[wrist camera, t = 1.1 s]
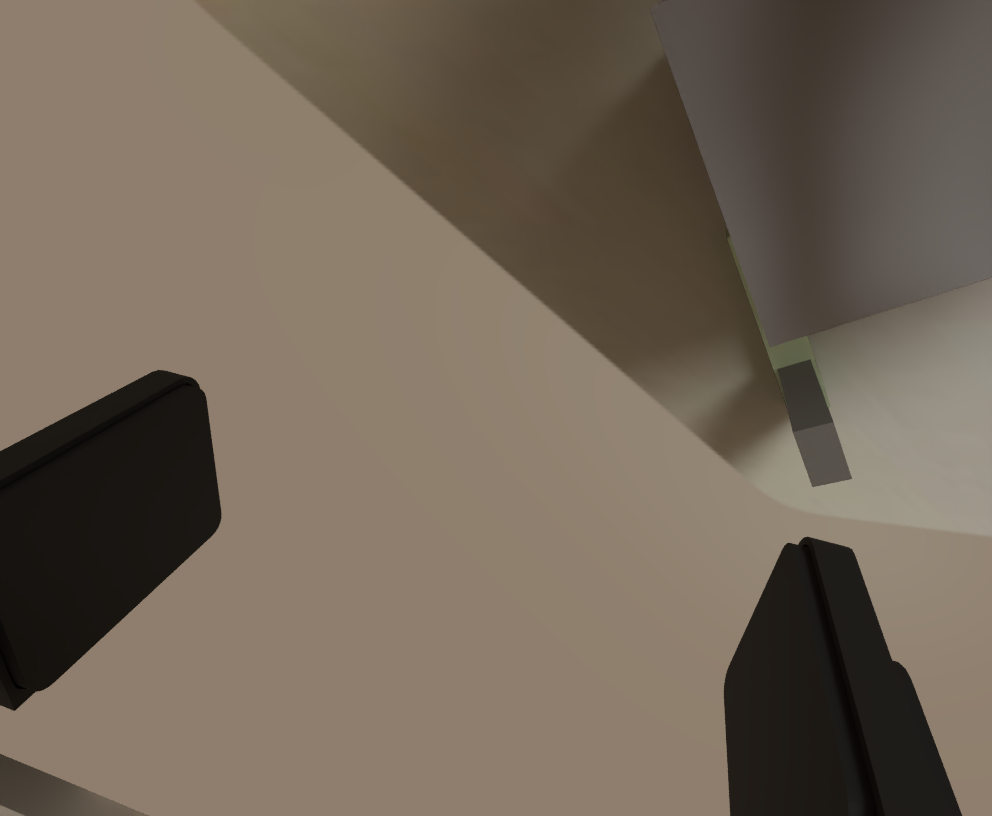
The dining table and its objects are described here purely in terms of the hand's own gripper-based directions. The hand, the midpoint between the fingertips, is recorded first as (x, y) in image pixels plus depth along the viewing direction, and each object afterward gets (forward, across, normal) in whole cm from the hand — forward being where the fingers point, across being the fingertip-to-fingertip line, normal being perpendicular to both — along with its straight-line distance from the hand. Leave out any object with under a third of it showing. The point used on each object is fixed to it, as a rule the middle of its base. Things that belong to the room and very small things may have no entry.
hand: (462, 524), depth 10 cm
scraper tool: (+27, -9, +3) cm, 28 cm away
